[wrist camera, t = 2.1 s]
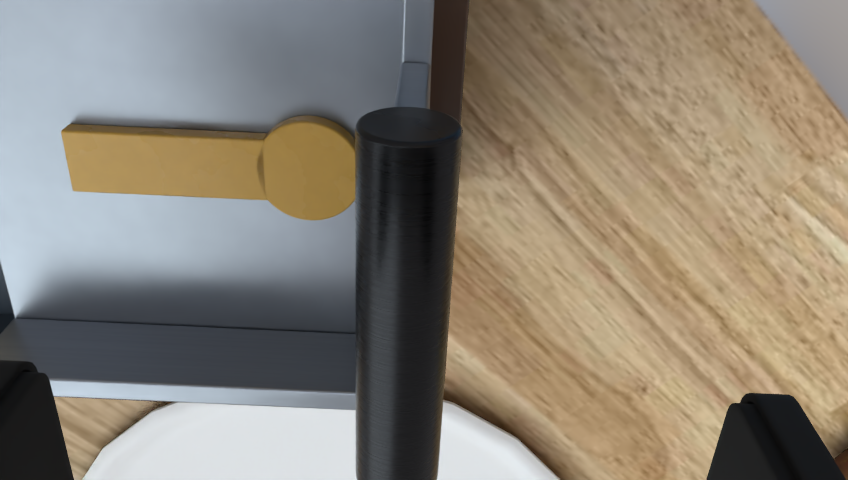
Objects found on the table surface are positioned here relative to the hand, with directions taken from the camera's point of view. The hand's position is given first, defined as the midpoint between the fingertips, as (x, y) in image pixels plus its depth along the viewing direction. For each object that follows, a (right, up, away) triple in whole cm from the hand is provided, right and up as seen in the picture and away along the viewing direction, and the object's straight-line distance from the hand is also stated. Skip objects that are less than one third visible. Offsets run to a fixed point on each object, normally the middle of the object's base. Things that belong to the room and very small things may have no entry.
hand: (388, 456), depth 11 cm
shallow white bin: (-5, +5, +9) cm, 11 cm away
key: (-4, +5, +8) cm, 10 cm away
